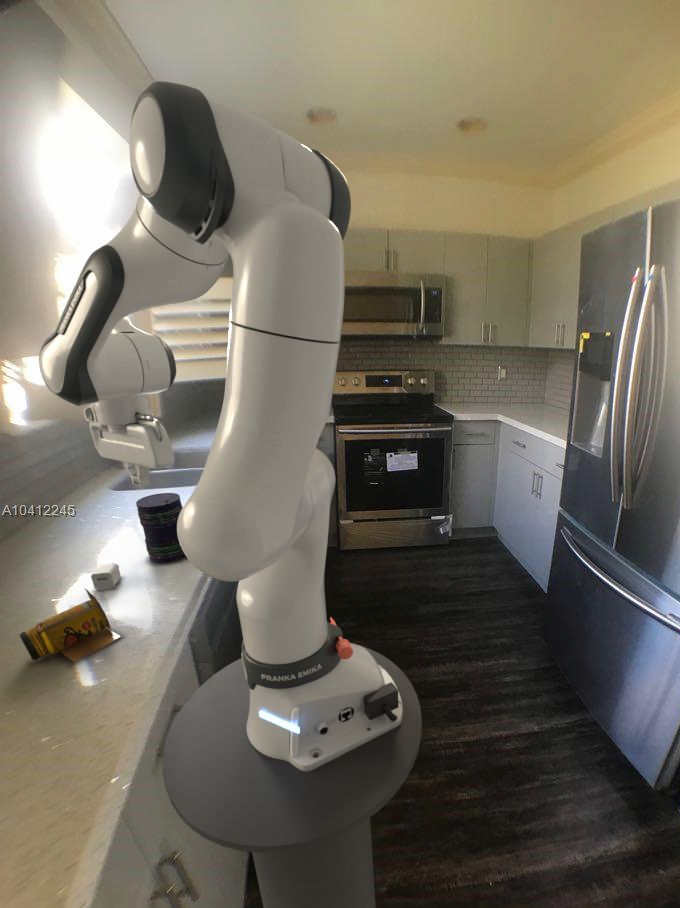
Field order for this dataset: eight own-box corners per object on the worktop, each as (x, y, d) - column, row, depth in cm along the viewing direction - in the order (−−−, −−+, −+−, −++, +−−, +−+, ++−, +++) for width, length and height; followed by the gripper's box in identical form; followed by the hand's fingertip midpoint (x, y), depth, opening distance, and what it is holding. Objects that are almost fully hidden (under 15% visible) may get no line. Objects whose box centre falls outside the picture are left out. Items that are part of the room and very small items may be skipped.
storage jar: (140, 560, 113) (125, 503, 108) (172, 544, 121) (161, 490, 116) (168, 567, 109) (155, 509, 104) (200, 550, 117) (189, 495, 112)
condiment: (114, 634, 84) (38, 672, 76) (98, 617, 90) (26, 651, 82) (101, 601, 81) (21, 637, 73) (85, 586, 87) (9, 618, 79)
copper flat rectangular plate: (93, 621, 89) (93, 619, 89) (121, 637, 84) (120, 636, 84) (48, 643, 83) (47, 642, 83) (74, 662, 78) (74, 661, 78)
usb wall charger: (95, 590, 100) (90, 574, 99) (106, 575, 106) (102, 559, 105) (115, 588, 101) (110, 572, 99) (125, 573, 107) (121, 557, 106)
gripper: (174, 412, 79) (189, 488, 84) (112, 405, 89) (128, 473, 95) (139, 418, 74) (157, 498, 79) (77, 410, 85) (97, 481, 90)
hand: (141, 484), depth 87 cm, fingers closed
